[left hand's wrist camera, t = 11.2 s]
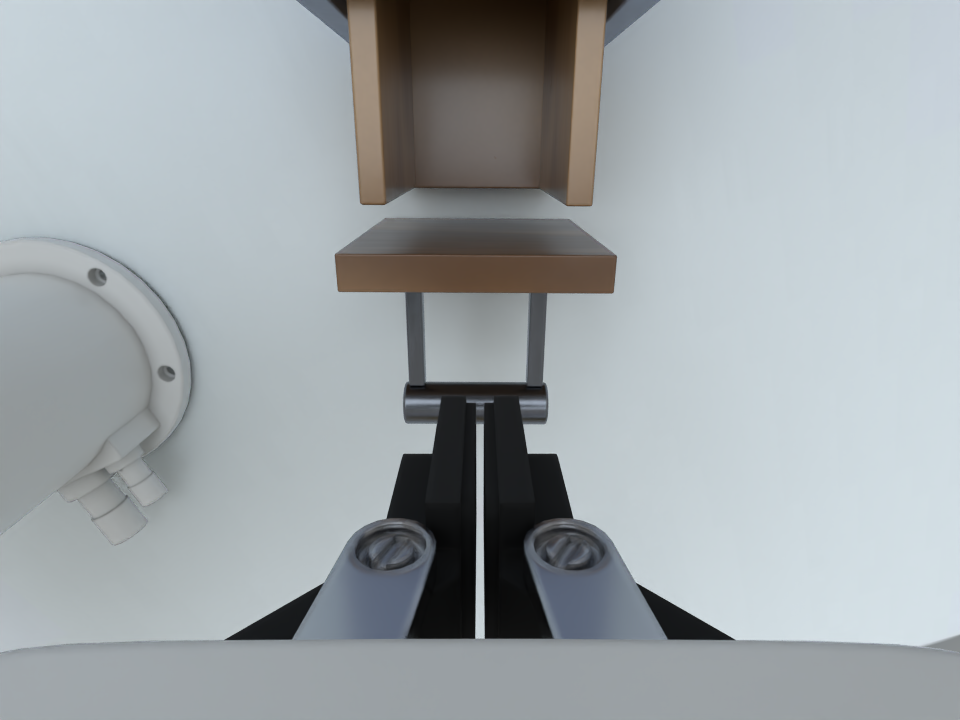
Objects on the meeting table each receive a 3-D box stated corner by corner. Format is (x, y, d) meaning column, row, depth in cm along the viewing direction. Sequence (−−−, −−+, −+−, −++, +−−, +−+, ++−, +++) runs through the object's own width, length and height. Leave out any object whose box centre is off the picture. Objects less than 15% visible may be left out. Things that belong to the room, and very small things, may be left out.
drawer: (561, 361, 29) (598, 459, 20) (392, 360, 29) (351, 458, 20) (601, -297, 20) (703, -669, 11) (357, -299, 20) (255, -674, 11)
